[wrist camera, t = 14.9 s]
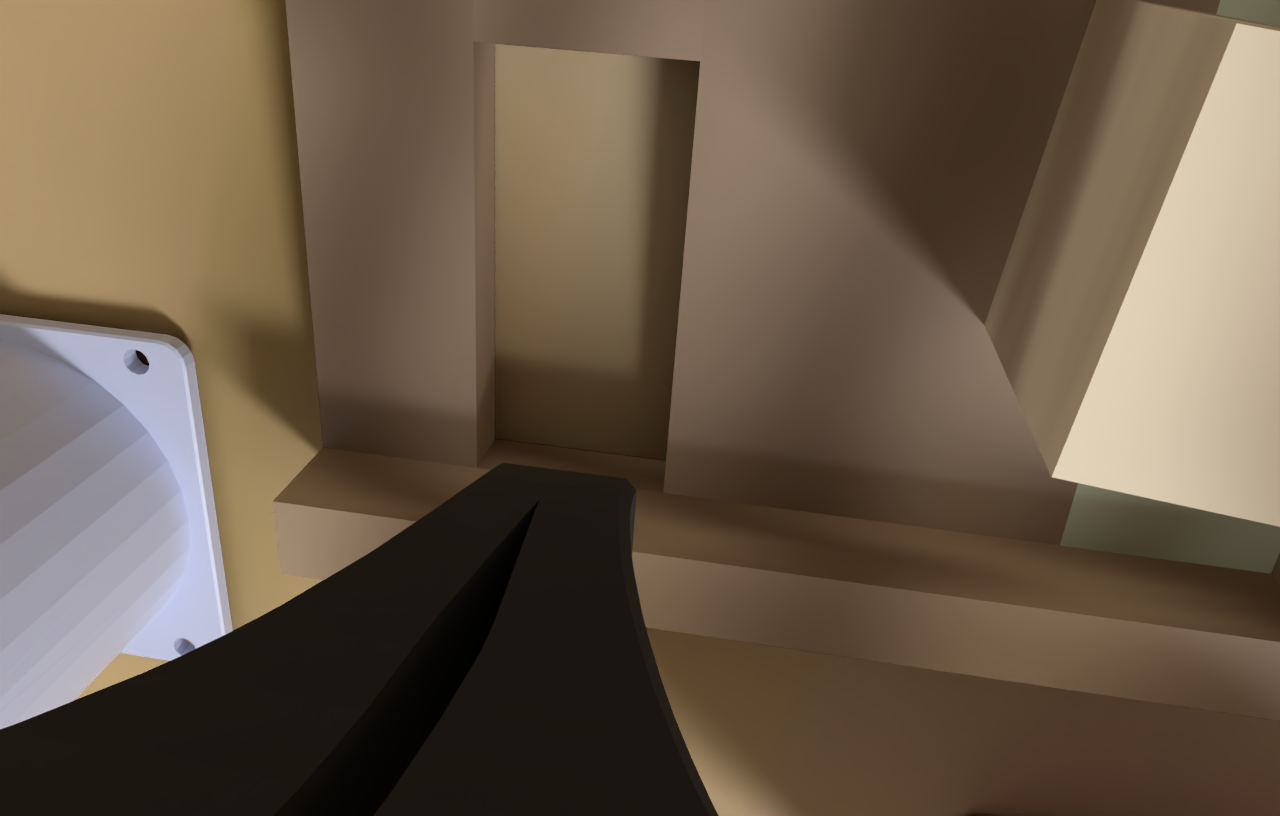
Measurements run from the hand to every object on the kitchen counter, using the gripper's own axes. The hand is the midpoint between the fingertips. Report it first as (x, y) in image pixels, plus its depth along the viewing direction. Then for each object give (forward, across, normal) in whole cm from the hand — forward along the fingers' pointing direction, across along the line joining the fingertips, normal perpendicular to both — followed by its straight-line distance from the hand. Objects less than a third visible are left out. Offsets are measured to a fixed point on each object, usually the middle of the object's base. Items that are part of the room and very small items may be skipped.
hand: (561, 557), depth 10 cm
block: (+8, -8, -2) cm, 11 cm away
